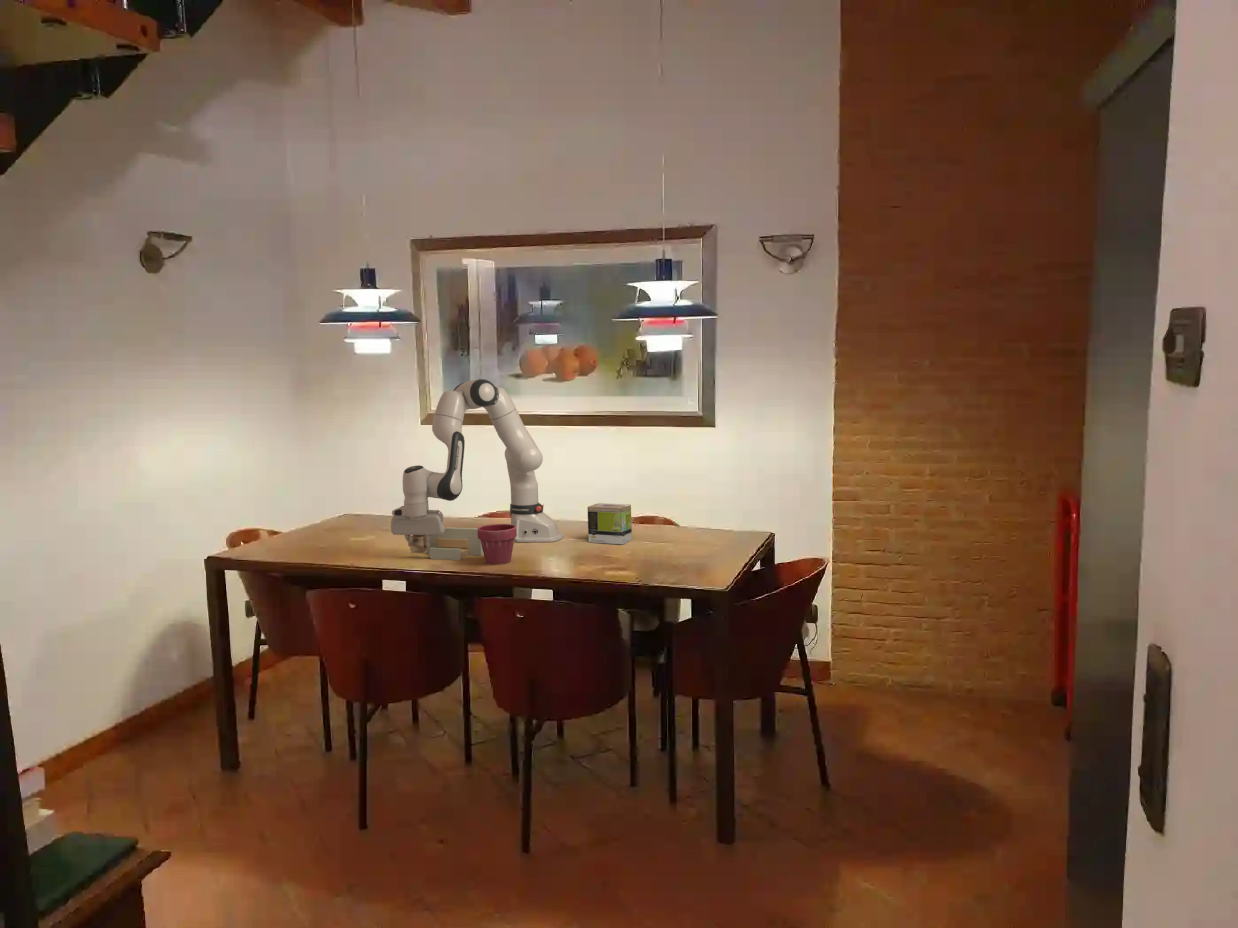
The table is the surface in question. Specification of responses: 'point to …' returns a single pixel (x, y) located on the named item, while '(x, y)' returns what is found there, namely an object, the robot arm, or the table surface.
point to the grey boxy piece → (455, 544)
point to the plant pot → (497, 542)
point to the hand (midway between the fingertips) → (419, 546)
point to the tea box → (609, 523)
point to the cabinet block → (418, 544)
